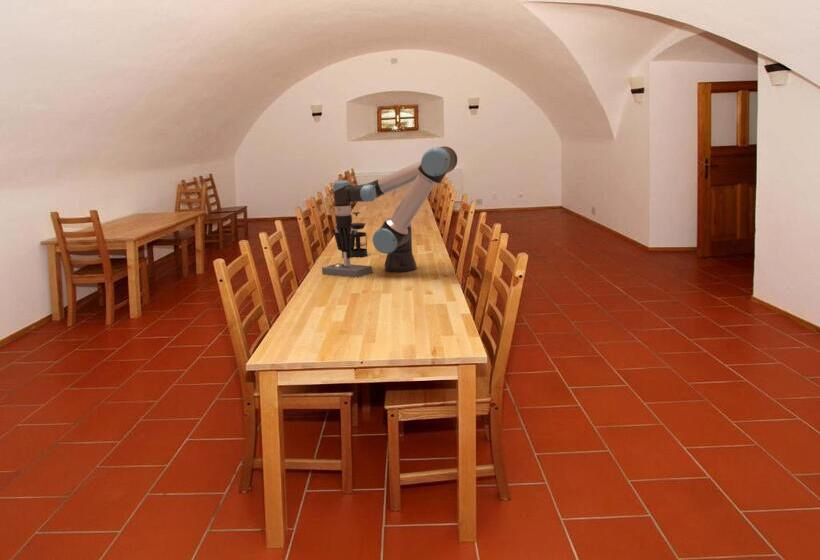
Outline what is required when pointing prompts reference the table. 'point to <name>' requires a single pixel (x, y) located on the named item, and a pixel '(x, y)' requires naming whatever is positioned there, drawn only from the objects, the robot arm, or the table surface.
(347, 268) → the plate
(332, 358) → the table surface
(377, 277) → the table surface
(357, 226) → the french press
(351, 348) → the table surface
